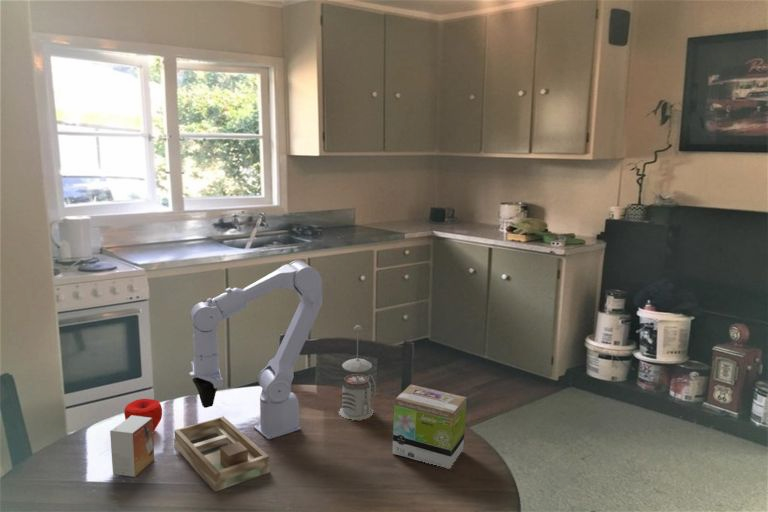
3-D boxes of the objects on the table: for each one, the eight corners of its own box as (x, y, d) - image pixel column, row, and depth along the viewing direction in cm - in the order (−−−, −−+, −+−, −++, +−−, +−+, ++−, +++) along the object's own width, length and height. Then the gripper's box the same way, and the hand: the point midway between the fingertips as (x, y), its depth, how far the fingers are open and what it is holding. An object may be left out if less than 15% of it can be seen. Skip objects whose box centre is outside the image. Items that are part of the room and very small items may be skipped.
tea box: (391, 455, 145) (393, 397, 142) (407, 437, 154) (409, 382, 151) (450, 471, 139) (453, 411, 136) (464, 451, 148) (467, 395, 145)
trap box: (224, 430, 155) (224, 416, 154) (270, 472, 137) (269, 455, 136) (174, 445, 147) (173, 430, 146) (215, 491, 129) (214, 474, 128)
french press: (358, 401, 174) (360, 317, 169) (386, 415, 166) (388, 327, 161) (331, 411, 167) (332, 324, 162) (358, 426, 159) (360, 335, 154)
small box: (134, 478, 133) (132, 433, 131) (112, 474, 134) (109, 430, 132) (155, 459, 141) (153, 417, 139) (133, 456, 142) (131, 414, 140)
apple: (170, 429, 155) (169, 400, 153) (142, 444, 147) (141, 414, 146) (145, 421, 159) (144, 393, 157) (117, 435, 151) (115, 405, 150)
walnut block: (239, 457, 139) (238, 441, 138) (248, 466, 135) (247, 449, 134) (220, 463, 136) (219, 447, 135) (229, 472, 132) (228, 455, 132)
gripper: (178, 347, 148) (180, 399, 150) (201, 365, 137) (203, 421, 139) (205, 341, 152) (207, 392, 155) (231, 359, 141) (232, 413, 144)
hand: (207, 406), depth 147 cm, fingers closed
